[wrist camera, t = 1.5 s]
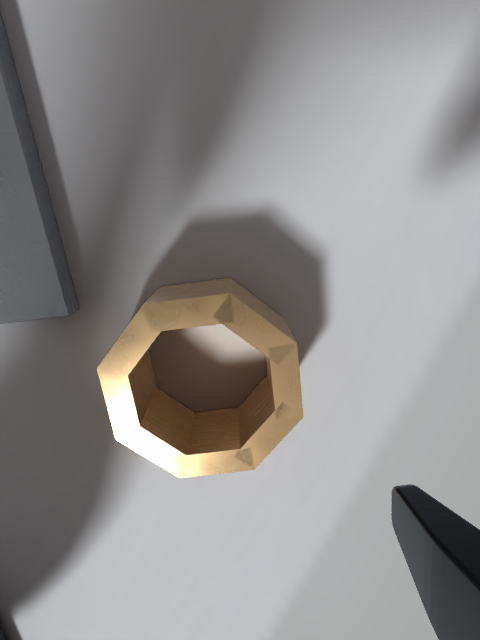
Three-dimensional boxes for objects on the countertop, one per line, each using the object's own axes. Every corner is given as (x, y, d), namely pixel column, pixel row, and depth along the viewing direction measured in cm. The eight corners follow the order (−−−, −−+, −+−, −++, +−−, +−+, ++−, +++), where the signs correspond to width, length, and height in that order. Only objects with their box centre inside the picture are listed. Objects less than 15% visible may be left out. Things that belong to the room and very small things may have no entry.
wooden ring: (293, 419, 16) (307, 463, 13) (145, 437, 16) (127, 484, 13) (280, 271, 14) (292, 285, 11) (111, 292, 14) (81, 311, 11)
